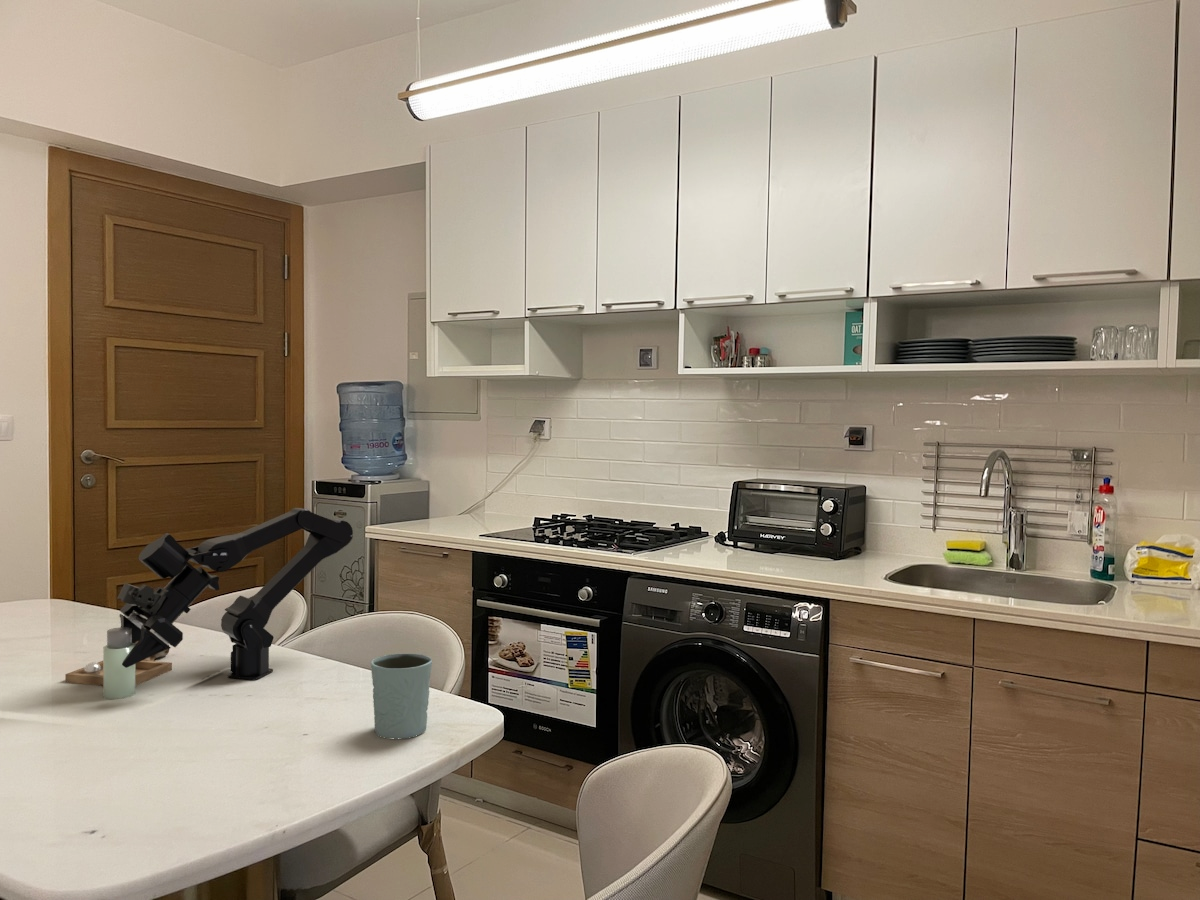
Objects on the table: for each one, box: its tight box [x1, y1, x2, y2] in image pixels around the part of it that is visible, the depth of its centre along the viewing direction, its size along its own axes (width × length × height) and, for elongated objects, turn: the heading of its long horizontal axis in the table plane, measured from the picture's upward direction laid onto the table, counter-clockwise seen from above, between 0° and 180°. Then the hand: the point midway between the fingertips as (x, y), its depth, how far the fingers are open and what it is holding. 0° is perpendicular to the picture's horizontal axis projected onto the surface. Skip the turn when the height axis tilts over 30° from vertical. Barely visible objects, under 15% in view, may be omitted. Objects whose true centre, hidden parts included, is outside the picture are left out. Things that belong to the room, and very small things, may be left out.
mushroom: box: [134, 641, 170, 661], centre depth 188 cm, size 8×8×6 cm
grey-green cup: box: [370, 652, 433, 740], centre depth 152 cm, size 10×10×12 cm
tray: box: [65, 660, 173, 687], centre depth 176 cm, size 14×12×2 cm
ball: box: [83, 661, 102, 675], centre depth 175 cm, size 3×3×3 cm
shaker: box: [102, 626, 136, 700], centre depth 165 cm, size 5×5×13 cm
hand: (115, 660), depth 164 cm, fingers open, 9 cm apart
